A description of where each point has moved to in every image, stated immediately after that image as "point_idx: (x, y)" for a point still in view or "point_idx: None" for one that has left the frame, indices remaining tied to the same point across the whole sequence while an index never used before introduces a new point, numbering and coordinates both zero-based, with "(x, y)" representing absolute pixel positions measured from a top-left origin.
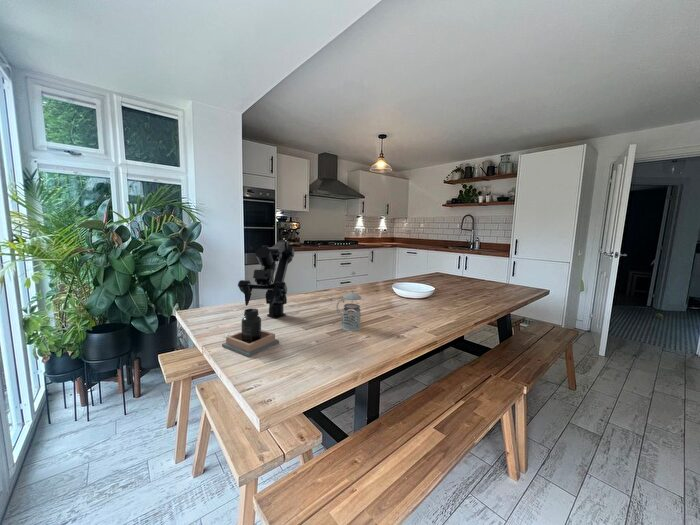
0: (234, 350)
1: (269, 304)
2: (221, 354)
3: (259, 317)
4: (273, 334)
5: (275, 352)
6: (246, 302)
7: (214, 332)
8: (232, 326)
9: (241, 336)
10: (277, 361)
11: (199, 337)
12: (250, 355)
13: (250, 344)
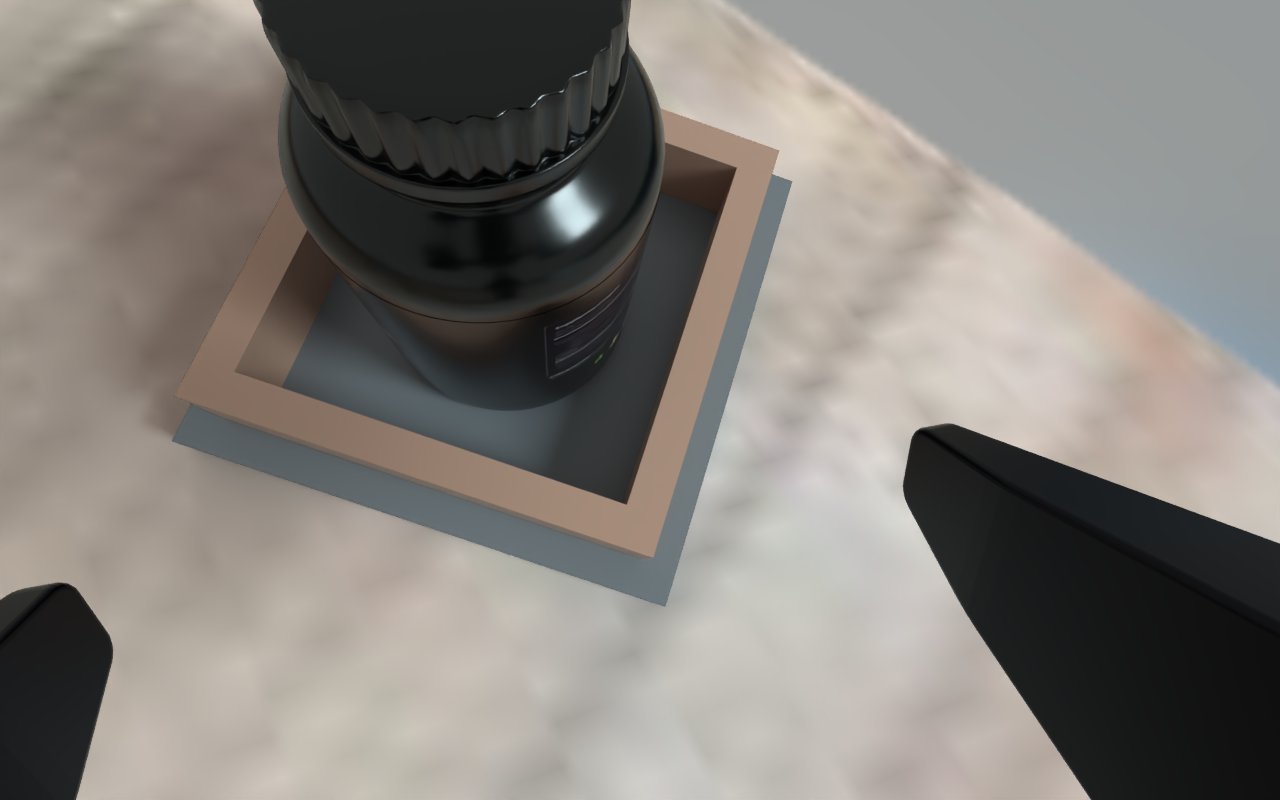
0: None
1: (27, 605)
2: (676, 61)
3: (306, 162)
4: (195, 377)
5: (147, 201)
6: (972, 447)
7: None
8: None
9: (679, 335)
10: (59, 37)
11: (1157, 336)
12: None
13: None
